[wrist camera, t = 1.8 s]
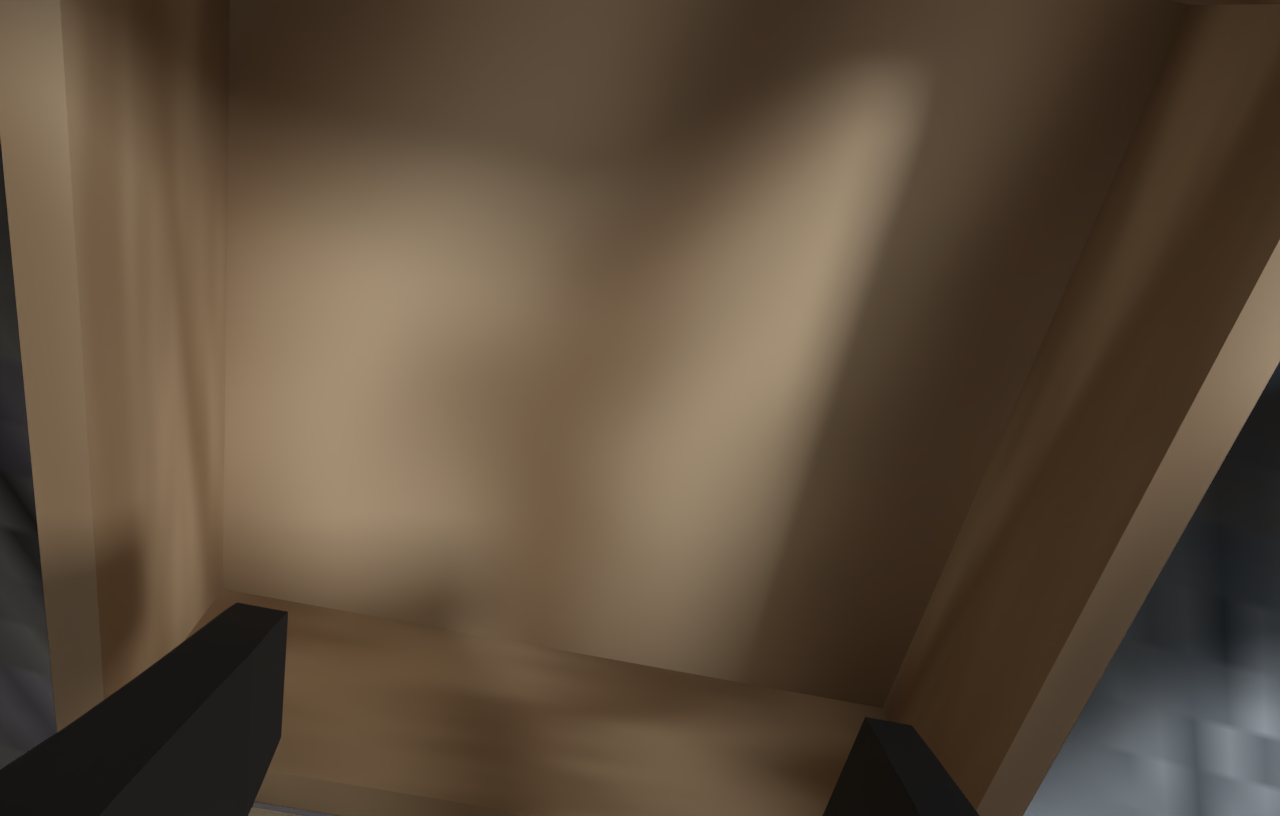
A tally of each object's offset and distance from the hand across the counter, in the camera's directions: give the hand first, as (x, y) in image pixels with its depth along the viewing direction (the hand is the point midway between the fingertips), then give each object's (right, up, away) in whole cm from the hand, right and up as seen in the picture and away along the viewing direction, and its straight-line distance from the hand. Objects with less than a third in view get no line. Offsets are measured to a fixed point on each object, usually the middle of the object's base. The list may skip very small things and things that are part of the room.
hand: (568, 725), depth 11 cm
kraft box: (+1, +5, +6) cm, 8 cm away
